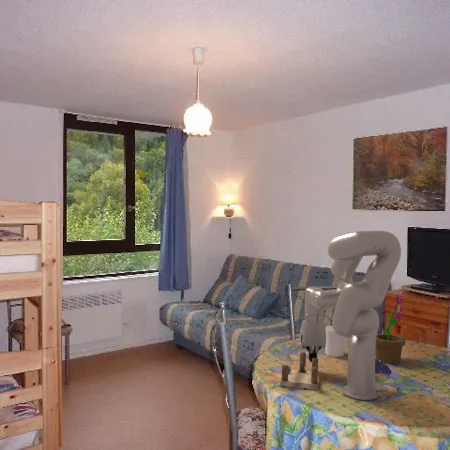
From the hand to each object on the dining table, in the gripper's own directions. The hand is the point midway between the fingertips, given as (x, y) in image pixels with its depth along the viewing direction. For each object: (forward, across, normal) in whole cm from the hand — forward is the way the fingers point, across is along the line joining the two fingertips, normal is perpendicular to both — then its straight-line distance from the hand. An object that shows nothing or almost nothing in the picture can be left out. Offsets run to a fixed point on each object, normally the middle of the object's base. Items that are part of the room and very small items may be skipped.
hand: (312, 361), depth 195 cm
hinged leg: (+2, +6, +3) cm, 6 cm away
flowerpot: (+4, -39, -6) cm, 39 cm away
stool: (+4, +10, +10) cm, 15 cm away
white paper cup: (+4, -19, -18) cm, 27 cm away
